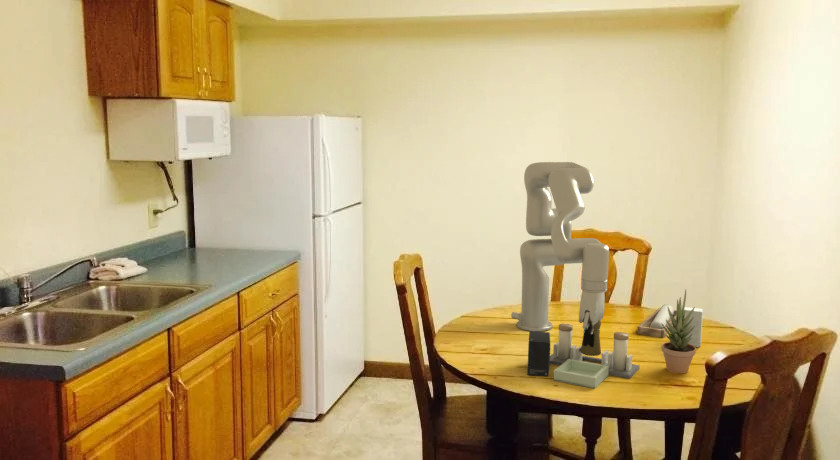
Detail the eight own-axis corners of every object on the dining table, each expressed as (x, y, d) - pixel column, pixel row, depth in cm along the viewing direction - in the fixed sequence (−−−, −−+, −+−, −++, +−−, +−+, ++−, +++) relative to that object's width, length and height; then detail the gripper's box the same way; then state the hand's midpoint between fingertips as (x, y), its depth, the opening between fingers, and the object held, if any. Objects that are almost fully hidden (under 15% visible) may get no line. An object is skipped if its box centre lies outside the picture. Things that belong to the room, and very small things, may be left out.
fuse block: (544, 362, 222) (545, 327, 220) (556, 354, 231) (557, 319, 229) (630, 378, 209) (631, 340, 207) (639, 368, 217) (641, 332, 215)
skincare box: (701, 343, 241) (703, 308, 240) (700, 347, 238) (702, 311, 236) (681, 341, 244) (683, 306, 242) (680, 345, 240) (682, 309, 238)
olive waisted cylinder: (577, 349, 223) (579, 314, 221) (597, 348, 223) (598, 314, 221) (584, 356, 217) (585, 320, 215) (603, 355, 217) (605, 320, 215)
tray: (553, 380, 207) (553, 370, 207) (568, 368, 217) (568, 358, 217) (594, 388, 201) (595, 378, 200) (608, 375, 211) (608, 365, 211)
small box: (549, 377, 210) (550, 341, 209) (526, 375, 211) (527, 340, 210) (549, 365, 220) (550, 331, 219) (527, 363, 222) (528, 330, 220)
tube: (667, 325, 250) (676, 308, 272) (652, 318, 252) (662, 301, 274) (661, 338, 252) (671, 320, 274) (646, 331, 254) (657, 314, 276)
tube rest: (637, 333, 253) (637, 326, 253) (658, 314, 278) (658, 307, 278) (663, 337, 248) (664, 330, 248) (683, 317, 273) (683, 311, 273)
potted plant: (682, 377, 209) (686, 294, 206) (654, 368, 217) (658, 287, 213) (702, 371, 215) (707, 289, 212) (674, 362, 223) (678, 283, 219)
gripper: (591, 277, 225) (588, 334, 228) (572, 289, 211) (569, 349, 214) (615, 280, 221) (611, 338, 224) (597, 292, 207) (594, 354, 210)
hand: (591, 343), depth 219 cm, fingers closed on olive waisted cylinder, 4 cm apart
